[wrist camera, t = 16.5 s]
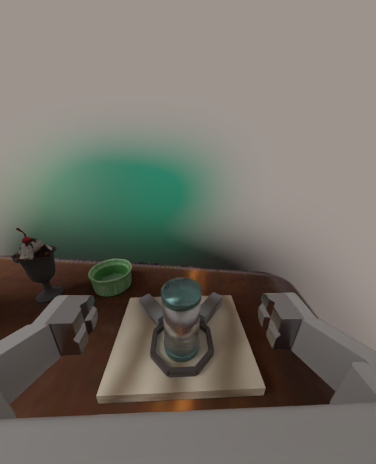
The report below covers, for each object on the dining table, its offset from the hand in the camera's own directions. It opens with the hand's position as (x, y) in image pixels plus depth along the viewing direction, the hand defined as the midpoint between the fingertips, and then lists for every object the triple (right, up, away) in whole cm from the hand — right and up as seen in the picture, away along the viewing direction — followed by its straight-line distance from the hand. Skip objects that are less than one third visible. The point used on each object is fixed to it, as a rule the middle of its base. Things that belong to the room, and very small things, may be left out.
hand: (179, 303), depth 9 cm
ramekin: (-17, -9, +33) cm, 38 cm away
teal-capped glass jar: (-1, -13, +18) cm, 22 cm away
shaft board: (-1, -14, +21) cm, 25 cm away
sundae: (-29, -10, +30) cm, 43 cm away
